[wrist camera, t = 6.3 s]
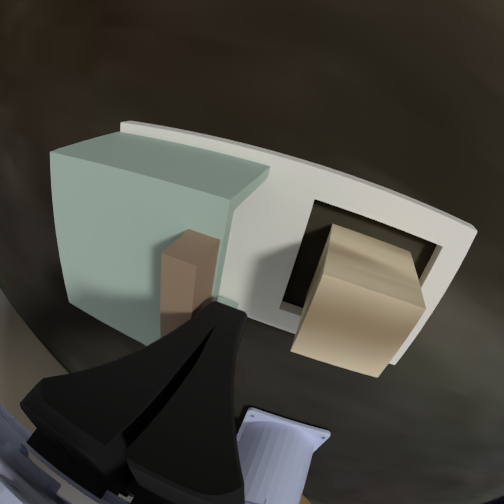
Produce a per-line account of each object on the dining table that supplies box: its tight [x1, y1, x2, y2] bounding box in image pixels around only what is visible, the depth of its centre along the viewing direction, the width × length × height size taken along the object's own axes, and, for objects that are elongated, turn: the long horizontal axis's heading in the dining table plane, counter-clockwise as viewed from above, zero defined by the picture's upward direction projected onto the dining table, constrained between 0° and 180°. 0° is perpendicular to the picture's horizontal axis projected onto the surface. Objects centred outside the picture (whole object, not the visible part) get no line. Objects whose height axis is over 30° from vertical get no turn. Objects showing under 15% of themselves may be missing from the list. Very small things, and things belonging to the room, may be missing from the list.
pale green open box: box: [50, 132, 270, 345], centre depth 14 cm, size 9×9×7 cm
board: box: [120, 121, 477, 365], centre depth 17 cm, size 10×20×1 cm, turn 78°
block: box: [291, 224, 426, 378], centre depth 14 cm, size 4×4×5 cm
